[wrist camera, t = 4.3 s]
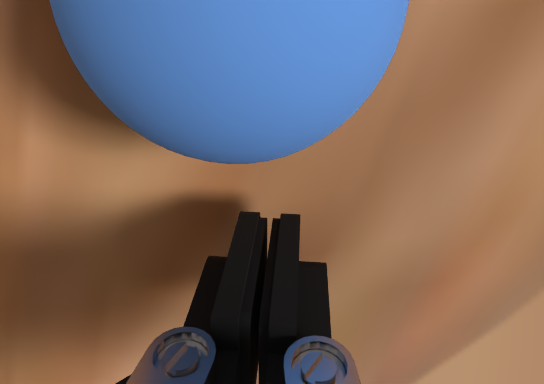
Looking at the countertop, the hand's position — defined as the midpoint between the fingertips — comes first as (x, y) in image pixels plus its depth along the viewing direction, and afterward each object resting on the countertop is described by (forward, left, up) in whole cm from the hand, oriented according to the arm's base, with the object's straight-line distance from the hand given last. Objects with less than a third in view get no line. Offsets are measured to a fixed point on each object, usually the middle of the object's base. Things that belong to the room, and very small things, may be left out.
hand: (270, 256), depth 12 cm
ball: (+5, +5, +1) cm, 7 cm away
